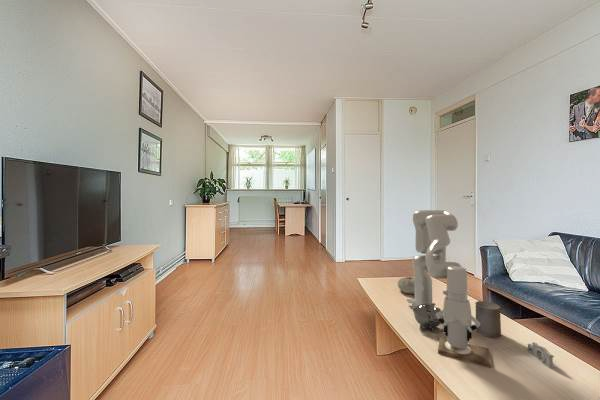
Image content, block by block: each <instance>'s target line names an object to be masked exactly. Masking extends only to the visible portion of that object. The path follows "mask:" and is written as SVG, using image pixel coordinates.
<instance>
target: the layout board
mask: <svg viewBox="0 0 600 400" xmlns="http://www.w3.org/2000/svg"><path fill="white" fill-rule="evenodd" d="M437 353H438V354H439V355H444V356H447V357H450V358H455V359H458V360H461V361H465V362H469V363H473V364H475V365H478V366H484V367H486V368H492V362H491V354H490V349H489V348H488V347H484V346H480V345H476V344H472V343H468V347H466V348H465V349H458V348H455V347H453V346H451V345H450V344H449V343H448V341H447V337H443V336H439V341H438V348H437Z"/></svg>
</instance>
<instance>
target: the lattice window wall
mask: <svg viewBox="0 0 600 400" xmlns="http://www.w3.org/2000/svg"><path fill="white" fill-rule="evenodd" d="M531 343H532V344H531ZM531 343H527V351H528V352H529V353H530V354H531V355H533V356H534V357H535V358H536V359H537V360H538V361H539V362H540V363H543V364H544V365H545V366H546V367H548V369H553V368H554V363H553V362H554V361H553V360H554V359H553V358H555V355H553V354H551V353H550V352H549V351H548V349H547V348H546V347H544V346H542V345H539V344H538V342H535V341H533V342H531Z"/></svg>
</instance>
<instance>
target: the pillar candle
mask: <svg viewBox="0 0 600 400" xmlns="http://www.w3.org/2000/svg"><path fill="white" fill-rule="evenodd" d="M475 319H477V320H478V321H479V322H480V323H481V325H480V326H479V327H477V329H475V330H476V332H477V333H478V334H480V335H482V336H485V337H487V338H492V339H499V338H500V337H502V327H501V326H502V325H501V323H502V321H501V320H502V319H501V307H500V305H499V304H497V303H495V302H491V301H487V300H486V301H485V300H478V301H476V302H475Z"/></svg>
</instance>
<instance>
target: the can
mask: <svg viewBox="0 0 600 400" xmlns="http://www.w3.org/2000/svg"><path fill="white" fill-rule="evenodd" d="M453 320H454V319H453ZM446 338H447V341H448V343H449V344H450V345H451V346H453V347H455V348H458V349H465V348H466V347H468V344H469V341H468V328H467V326H464V325H463V324H462V323H460V321H459V320H454V321H452V322H450V323H449V322H448V324H447V336H446Z"/></svg>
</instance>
